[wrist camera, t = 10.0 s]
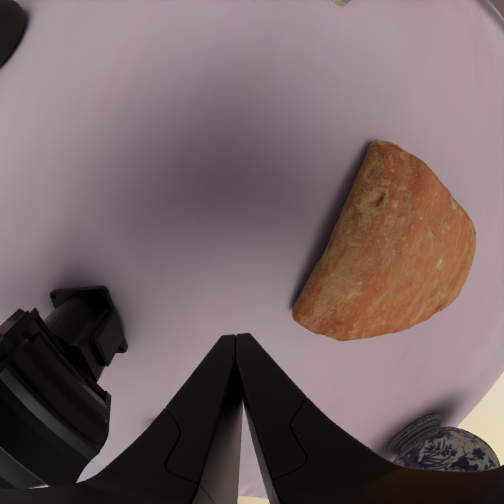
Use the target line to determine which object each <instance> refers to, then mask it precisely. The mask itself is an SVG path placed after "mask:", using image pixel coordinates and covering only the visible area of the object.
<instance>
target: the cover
mask: <svg viewBox="0 0 504 504" xmlns="http://www.w3.org/2000/svg"><path fill="white" fill-rule="evenodd" d="M332 1H334V2H335V3H337V4H338V5H340V6H341V7H343V8H344V7H345V6H346V5H347V4H348V3H349V2H350V1H351V0H332Z"/></svg>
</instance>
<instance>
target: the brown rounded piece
mask: <svg viewBox="0 0 504 504" xmlns="http://www.w3.org/2000/svg"><path fill="white" fill-rule="evenodd" d="M475 248H476V232H475V228H474V225H473V223H472V221H471V219H470V218H469V216H468V214H467V213H466V211H465V210H464V209H463V208H462V207H461V206H460V205H459V204H458V203H457V202H456V201H455V199H454V198H453V197H452V195H451V194H450V192H449V191H448V189H447V188H446V187H445V186H444V185H443V184H442V183H441V181H440V180H439V179H438V177H437V176H436V175H435V174H434V173H433V171H432V170H431V169H430V168H429V167H428V166H427V165H426V164H425V163H424V162H423V161H421V160H420V159H419V158H417V157H415V156H414V155H412V154H410V153H408V152H406V151H404V150H403V149H401V148H400V147H399V146H398V145H396V144H393V143H390V142H386V141H379V140H374V141H373V142H371V144H370V145H369V148H368V151H367V153H366V156H365V159H364V161H363V164H362V166H361V168H360V170H359V173H358V175H357V178H356V180H355V182H354V184H353V186H352V189H351V191H350V193H349V196H348V198H347V200H346V202H345V205H344V207H343V209H342V212H341V214H340V217H339V220H338V221H337V223H336V225H335V226H334V228H333V231H332V233H331V237H330V240H329V243H328V245H327V248H326V250H325V252H324V253H323V255H322V257H321V259H320V260H319V261H318V263H317V264H316V266H315V268H314V270H313V271H312V273H311V275H310V277H309V278H308V280H307V282H306V284H305V286H304V288H303V290H302V291H301V293H300V295H299V297H298V299H297V300H296V302H295V304H294V307H293V313H292V316H293V319H294V321H296V322H297V323H298V324H300V325H301V326H303V327H305V328H306V329H308V330H310V331H311V332H313V333H315V334H321V335H325V336H328V337H331V338H334V339H336V340H338V341H347V340H354V339H364V338H370V337H374V336H379V335H384V334H388V333H396V332H399V331H403V330H405V329H408V328H410V327H412V326H414V325H416V324H418V323H420V322H423V321H425V320H427V319H429V318H430V317H431V316H432V315H433V314H435V313H437V312H439V311H442V310H443V309H444V308H446V307H447V306H448V305H449V304H450V303H452V301H454V300H455V299H456V298H457V297H458V296H459V295H460V291H461V289H462V287H463V285H464V283H465V281H466V279H467V276H468V274H469V271H470V269H471V265H472V261H473V257H474V253H475Z"/></svg>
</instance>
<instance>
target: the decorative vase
mask: <svg viewBox="0 0 504 504" xmlns="http://www.w3.org/2000/svg"><path fill="white" fill-rule="evenodd" d="M440 422H441V417H440V415H439V414H431V415H427V416H425V417H423V418H421V419H419V420H417V421H415V422H414V423H412V424H411V425H409V426H408V427H406V428H405V429H403V430H402V431H401V432H400V433H399V434H398V435H396V436H395V437H394V438H393V439H392V441H391V442H390V443H389V445H388V450H389V451H390V452H391V453H394V454H396V453H399V454H398V456H397V457H396V459H395V460H394V461H393V463H395V464H398V465H402V466H405V467H411V468H420V469H430V470H444V471H484V470H490V469H494V468H498V467H500V463H499V460H498V458H497V456H496V454H495V452H494V451H493V450H492V448H491V447H490V446H489V445H488V444H487V443H486V442H485V441H483V440H482V439H481V438H479V437H477V436H476V435H474V434H472V433H470V432H468V431H465V430H463V429H459V428H455V427H439V425H440ZM438 427H439V428H438Z"/></svg>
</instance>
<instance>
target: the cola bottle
mask: <svg viewBox="0 0 504 504" xmlns="http://www.w3.org/2000/svg"><path fill="white" fill-rule="evenodd" d="M24 24H25V14H24V11H23V10H22V8H21V7H20V5H19V4H18V3H16V2H15V1H13V0H0V65H1V64H2V63H3V62H4V61H5V60H6V58H7V57H8V56H9V55H10V53H11V52H12V50H13V49H14V47H15V46H16V44H17V42H18V40H19V38H20V36H21V34H22V31H23V28H24Z"/></svg>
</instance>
